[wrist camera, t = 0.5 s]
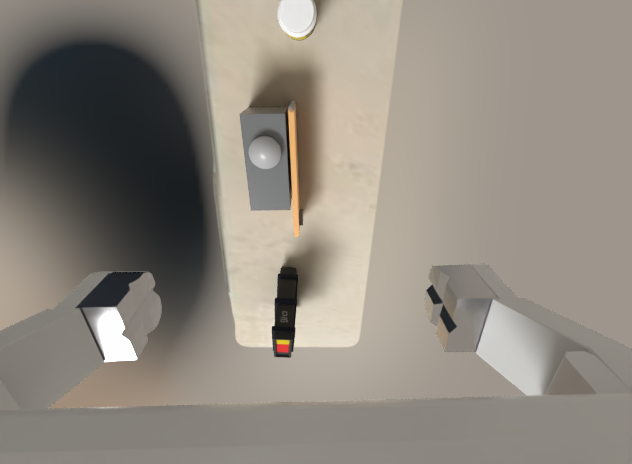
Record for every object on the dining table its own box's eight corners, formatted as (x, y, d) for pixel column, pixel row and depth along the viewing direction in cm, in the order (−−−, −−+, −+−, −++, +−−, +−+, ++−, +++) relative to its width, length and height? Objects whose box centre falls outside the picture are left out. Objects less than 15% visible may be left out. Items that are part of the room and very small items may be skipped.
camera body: (248, 107, 48) (238, 115, 41) (288, 106, 48) (284, 114, 41) (257, 193, 55) (250, 213, 48) (292, 193, 55) (289, 212, 48)
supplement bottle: (310, 45, 45) (310, 42, 37) (277, 34, 44) (271, 28, 36) (320, 5, 42) (322, -6, 35) (285, -7, 42) (280, -22, 34)
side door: (290, 100, 47) (287, 105, 42) (299, 100, 47) (298, 105, 42) (295, 220, 57) (294, 236, 52) (303, 220, 57) (302, 236, 52)
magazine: (299, 258, 59) (294, 339, 51) (296, 289, 70) (292, 360, 61) (279, 257, 59) (271, 338, 50) (279, 288, 70) (272, 359, 61)
